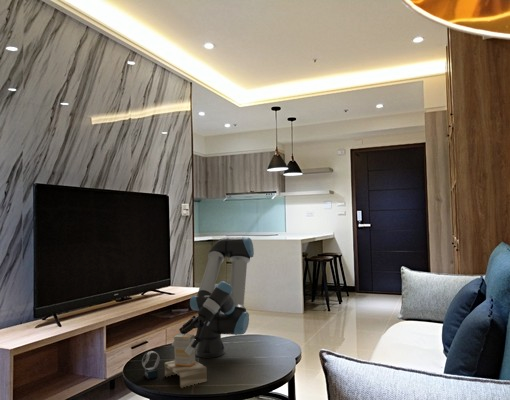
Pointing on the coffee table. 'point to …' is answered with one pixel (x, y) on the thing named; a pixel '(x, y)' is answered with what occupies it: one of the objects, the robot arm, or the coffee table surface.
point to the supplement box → (183, 350)
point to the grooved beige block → (187, 373)
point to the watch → (150, 371)
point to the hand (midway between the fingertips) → (180, 349)
